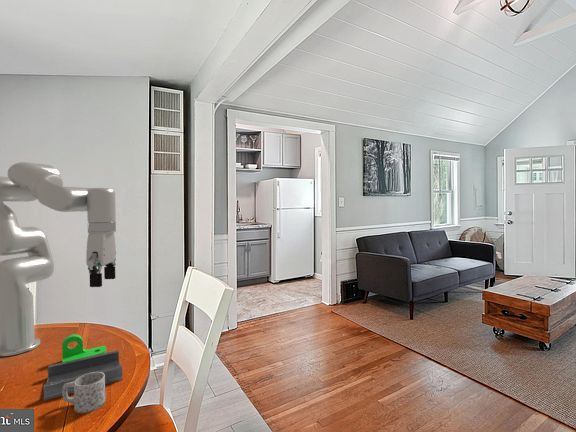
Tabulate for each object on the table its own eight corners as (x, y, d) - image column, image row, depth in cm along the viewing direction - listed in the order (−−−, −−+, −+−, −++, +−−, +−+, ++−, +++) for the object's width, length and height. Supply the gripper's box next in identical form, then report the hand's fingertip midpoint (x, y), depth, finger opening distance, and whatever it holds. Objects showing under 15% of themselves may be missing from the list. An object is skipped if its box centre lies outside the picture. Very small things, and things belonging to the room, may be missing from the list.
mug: (110, 396, 83) (110, 371, 83) (96, 413, 77) (95, 386, 77) (71, 397, 83) (71, 372, 83) (53, 414, 77) (53, 387, 76)
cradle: (48, 377, 93) (48, 365, 92) (118, 360, 102) (118, 350, 102) (43, 400, 82) (43, 387, 81) (122, 379, 91) (122, 367, 91)
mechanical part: (62, 368, 98) (61, 343, 97) (62, 360, 103) (62, 336, 102) (107, 358, 105) (106, 334, 104) (105, 351, 110) (104, 328, 109)
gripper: (101, 226, 106) (102, 276, 107) (74, 230, 89) (75, 290, 90) (125, 225, 107) (126, 276, 108) (102, 230, 90) (104, 289, 91)
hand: (103, 282), depth 99 cm, fingers open, 9 cm apart
